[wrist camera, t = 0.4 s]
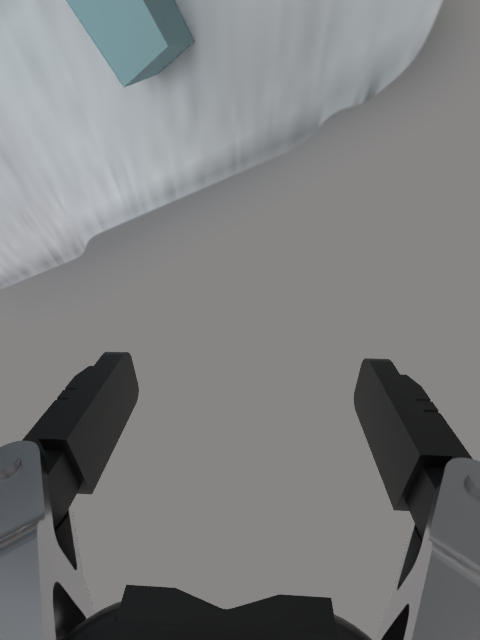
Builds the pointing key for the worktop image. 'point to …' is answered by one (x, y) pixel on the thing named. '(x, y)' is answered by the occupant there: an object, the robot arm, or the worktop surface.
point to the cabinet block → (134, 34)
